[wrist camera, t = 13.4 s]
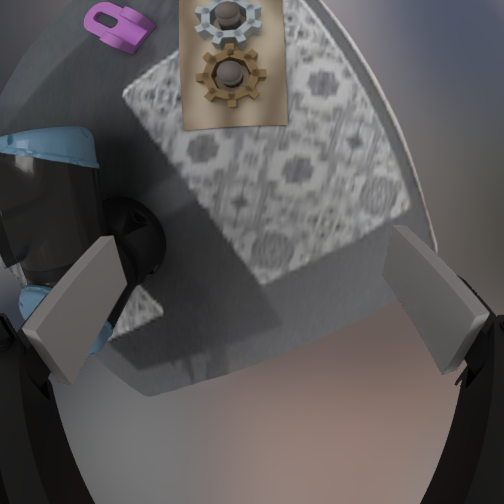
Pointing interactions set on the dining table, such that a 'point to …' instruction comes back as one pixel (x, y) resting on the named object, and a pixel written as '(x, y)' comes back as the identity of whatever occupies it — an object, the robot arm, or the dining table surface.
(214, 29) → the gear
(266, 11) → the gear board
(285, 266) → the dining table surface
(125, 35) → the bracket
